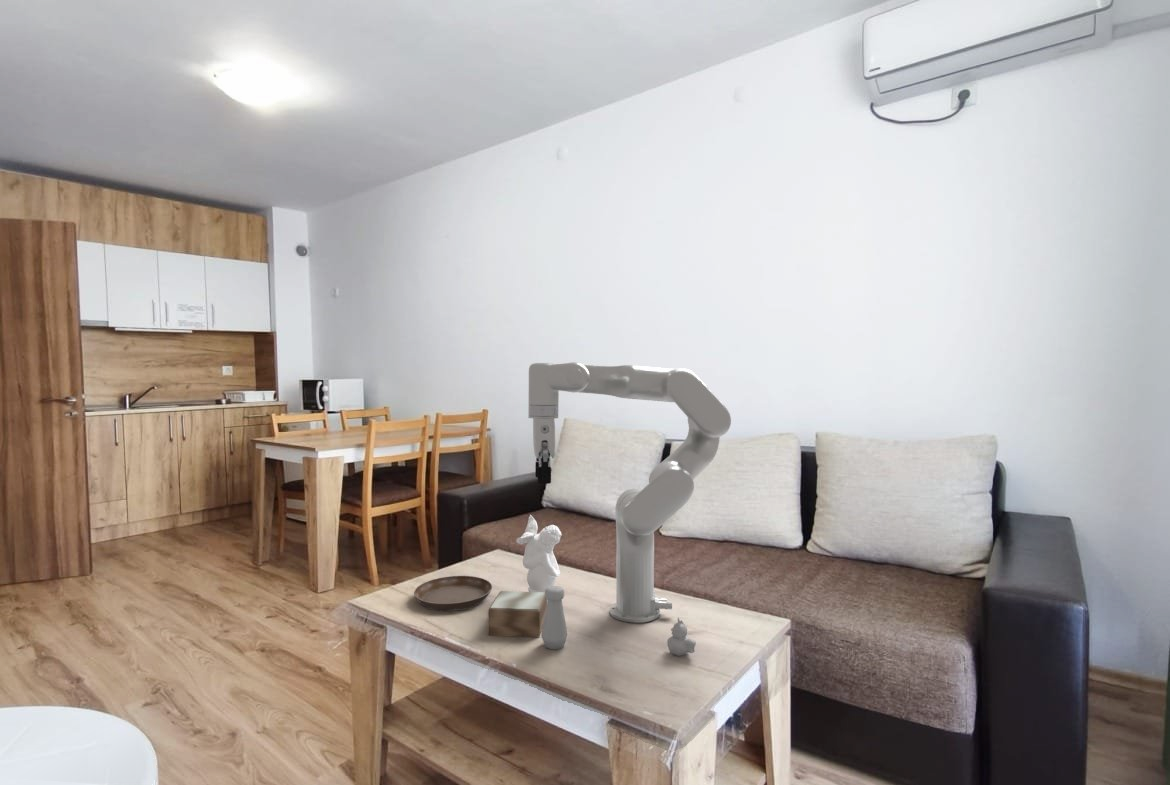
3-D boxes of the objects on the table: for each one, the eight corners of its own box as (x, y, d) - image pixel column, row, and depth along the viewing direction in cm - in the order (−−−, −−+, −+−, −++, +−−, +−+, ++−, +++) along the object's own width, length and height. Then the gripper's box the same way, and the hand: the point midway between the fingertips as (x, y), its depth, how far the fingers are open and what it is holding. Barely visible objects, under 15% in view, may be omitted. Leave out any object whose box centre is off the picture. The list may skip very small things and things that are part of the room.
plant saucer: (460, 620, 147) (460, 607, 147) (397, 606, 156) (397, 594, 156) (506, 594, 166) (506, 582, 165) (447, 583, 174) (447, 571, 174)
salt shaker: (536, 645, 132) (536, 587, 132) (555, 637, 136) (555, 581, 136) (553, 653, 128) (553, 594, 128) (572, 645, 132) (572, 587, 132)
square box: (546, 616, 149) (547, 591, 148) (539, 637, 137) (539, 610, 137) (499, 615, 150) (499, 590, 149) (488, 635, 138) (488, 608, 137)
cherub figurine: (566, 600, 160) (567, 519, 160) (528, 611, 153) (529, 526, 152) (540, 587, 170) (541, 511, 169) (503, 597, 162) (503, 517, 161)
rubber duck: (674, 646, 132) (674, 610, 132) (701, 654, 128) (701, 618, 128) (661, 654, 128) (662, 618, 128) (689, 663, 124) (689, 625, 124)
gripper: (561, 414, 141) (561, 485, 141) (555, 410, 158) (554, 474, 158) (530, 413, 140) (529, 486, 140) (526, 410, 157) (526, 475, 157)
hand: (542, 480), depth 149 cm, fingers open, 9 cm apart
